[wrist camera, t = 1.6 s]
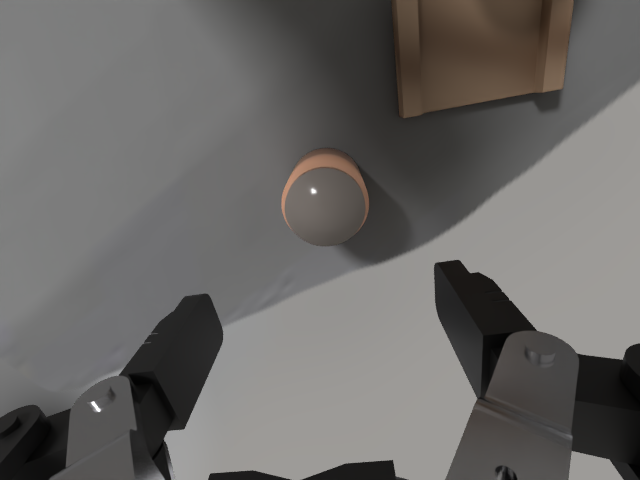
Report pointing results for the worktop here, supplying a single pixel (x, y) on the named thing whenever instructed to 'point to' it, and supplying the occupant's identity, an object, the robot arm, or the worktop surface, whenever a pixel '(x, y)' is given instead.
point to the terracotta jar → (325, 198)
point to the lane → (477, 50)
